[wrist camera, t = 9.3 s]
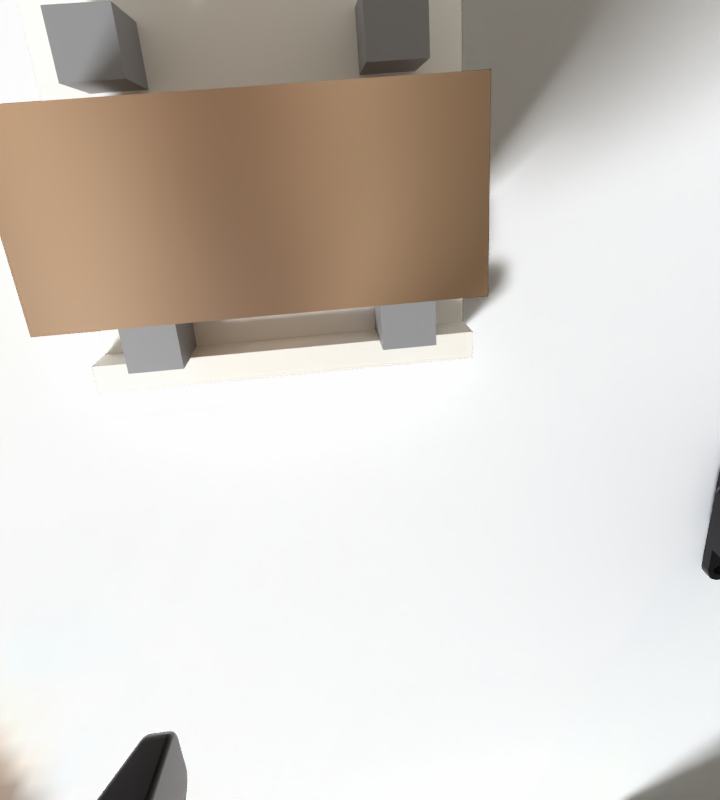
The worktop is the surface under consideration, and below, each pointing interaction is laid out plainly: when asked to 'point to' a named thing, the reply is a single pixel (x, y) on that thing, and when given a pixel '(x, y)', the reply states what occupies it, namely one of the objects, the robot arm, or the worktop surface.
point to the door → (246, 200)
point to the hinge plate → (238, 67)
